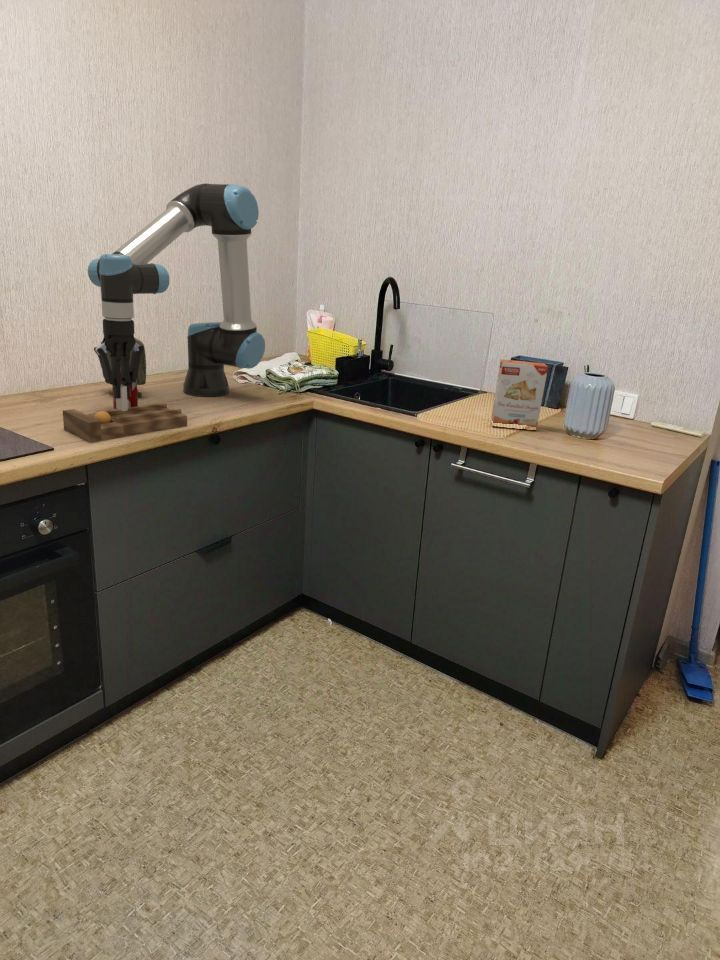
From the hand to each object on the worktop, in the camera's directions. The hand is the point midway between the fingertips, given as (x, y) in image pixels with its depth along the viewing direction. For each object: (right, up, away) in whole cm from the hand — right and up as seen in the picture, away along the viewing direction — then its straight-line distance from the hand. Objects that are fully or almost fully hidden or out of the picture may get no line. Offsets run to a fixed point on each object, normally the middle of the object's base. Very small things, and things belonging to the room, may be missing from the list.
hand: (122, 409), depth 173 cm
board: (0, -5, +3) cm, 5 cm away
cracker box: (+112, -2, +35) cm, 117 cm away
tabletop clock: (-13, +9, +36) cm, 39 cm away
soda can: (-6, +2, +20) cm, 21 cm away
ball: (-4, -3, -4) cm, 6 cm away
